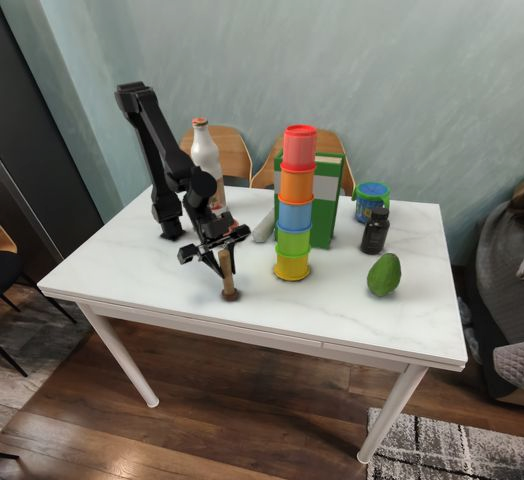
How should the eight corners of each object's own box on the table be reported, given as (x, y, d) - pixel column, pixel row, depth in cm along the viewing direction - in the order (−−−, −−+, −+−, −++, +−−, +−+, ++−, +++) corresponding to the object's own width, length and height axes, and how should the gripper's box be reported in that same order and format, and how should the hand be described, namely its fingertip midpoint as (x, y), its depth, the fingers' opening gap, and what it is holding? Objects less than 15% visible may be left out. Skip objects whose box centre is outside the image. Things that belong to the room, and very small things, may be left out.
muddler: (219, 298, 83) (210, 255, 72) (228, 288, 85) (221, 245, 74) (232, 303, 81) (225, 260, 71) (241, 293, 83) (236, 250, 73)
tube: (266, 235, 94) (295, 199, 108) (251, 227, 94) (282, 192, 108) (262, 248, 99) (291, 212, 112) (247, 240, 99) (278, 205, 113)
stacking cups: (268, 266, 91) (264, 127, 64) (299, 257, 93) (307, 119, 66) (283, 286, 85) (286, 141, 58) (315, 275, 87) (332, 132, 60)
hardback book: (333, 237, 99) (345, 154, 81) (328, 249, 95) (340, 164, 76) (281, 229, 103) (282, 148, 85) (274, 240, 99) (273, 158, 81)
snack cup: (393, 225, 102) (402, 194, 94) (366, 233, 100) (374, 202, 92) (365, 205, 111) (372, 176, 103) (340, 212, 109) (345, 182, 101)
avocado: (375, 306, 78) (388, 266, 69) (357, 288, 83) (367, 249, 74) (400, 296, 80) (417, 257, 71) (382, 279, 85) (394, 240, 75)
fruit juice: (231, 211, 113) (220, 119, 91) (210, 219, 110) (193, 126, 88) (218, 202, 118) (205, 113, 96) (197, 210, 114) (178, 119, 93)
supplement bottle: (386, 247, 94) (398, 209, 85) (375, 257, 91) (386, 219, 82) (367, 240, 97) (376, 202, 88) (355, 249, 94) (363, 211, 85)
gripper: (168, 214, 63) (201, 284, 66) (244, 189, 69) (272, 254, 72) (164, 233, 74) (193, 293, 76) (231, 210, 80) (256, 266, 82)
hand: (229, 276), depth 76 cm, fingers closed on muddler, 3 cm apart
